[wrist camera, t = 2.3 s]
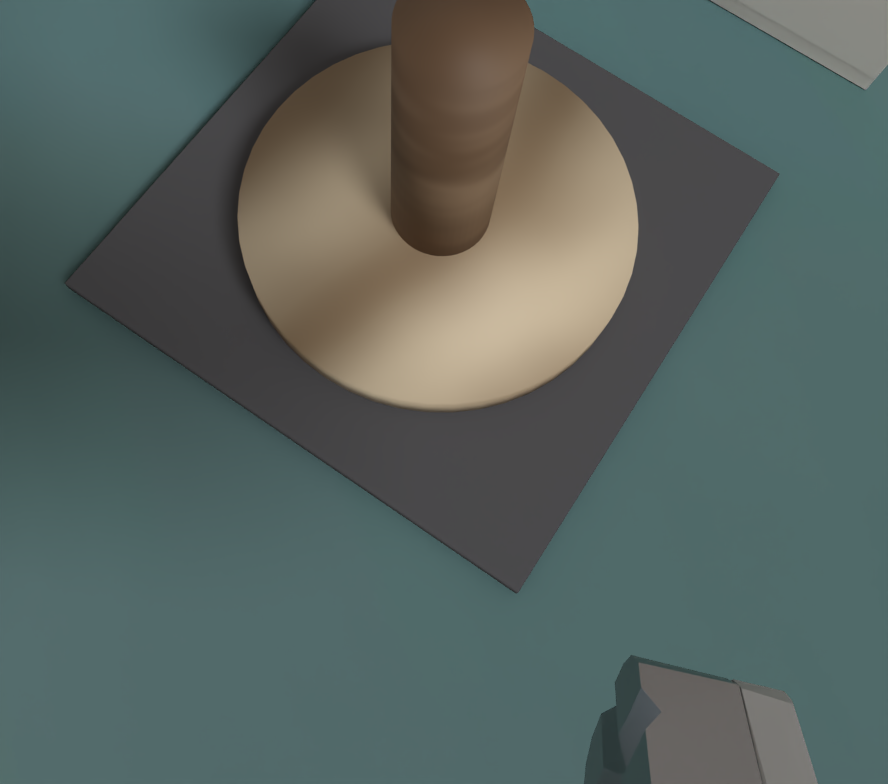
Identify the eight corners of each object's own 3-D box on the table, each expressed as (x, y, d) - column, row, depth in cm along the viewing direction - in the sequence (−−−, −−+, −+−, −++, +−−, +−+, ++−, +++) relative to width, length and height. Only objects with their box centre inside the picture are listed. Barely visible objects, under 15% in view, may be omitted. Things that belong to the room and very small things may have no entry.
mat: (69, 288, 26) (64, 283, 25) (376, -58, 30) (375, -67, 29) (516, 593, 24) (517, 592, 23) (774, 180, 28) (779, 173, 28)
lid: (161, 268, 25) (44, 78, 17) (389, 0, 29) (389, -275, 20) (497, 492, 24) (557, 411, 16) (696, 186, 27) (838, -23, 19)
